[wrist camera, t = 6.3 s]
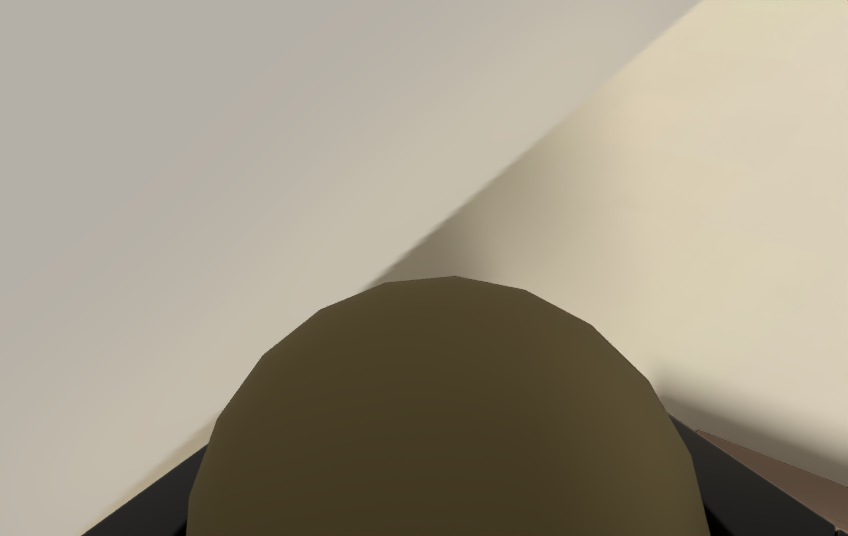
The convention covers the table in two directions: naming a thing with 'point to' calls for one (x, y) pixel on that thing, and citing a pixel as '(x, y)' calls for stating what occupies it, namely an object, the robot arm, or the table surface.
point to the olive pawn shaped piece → (445, 427)
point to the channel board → (794, 482)
